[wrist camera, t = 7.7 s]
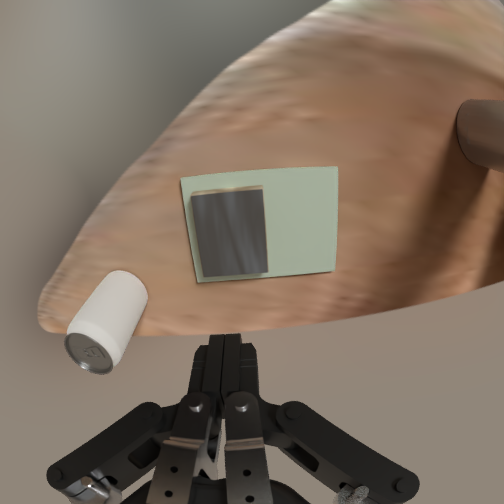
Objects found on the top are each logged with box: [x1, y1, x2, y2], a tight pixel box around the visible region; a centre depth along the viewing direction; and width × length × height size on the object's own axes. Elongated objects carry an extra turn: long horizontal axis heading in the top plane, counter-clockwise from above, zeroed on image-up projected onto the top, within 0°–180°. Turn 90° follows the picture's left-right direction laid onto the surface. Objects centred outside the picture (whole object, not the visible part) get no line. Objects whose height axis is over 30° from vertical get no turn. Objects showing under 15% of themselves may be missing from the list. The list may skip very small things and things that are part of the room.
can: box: [64, 270, 148, 375], centre depth 27 cm, size 6×6×12 cm
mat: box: [181, 166, 338, 282], centre depth 29 cm, size 16×12×1 cm
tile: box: [190, 185, 269, 277], centre depth 28 cm, size 2×9×7 cm
